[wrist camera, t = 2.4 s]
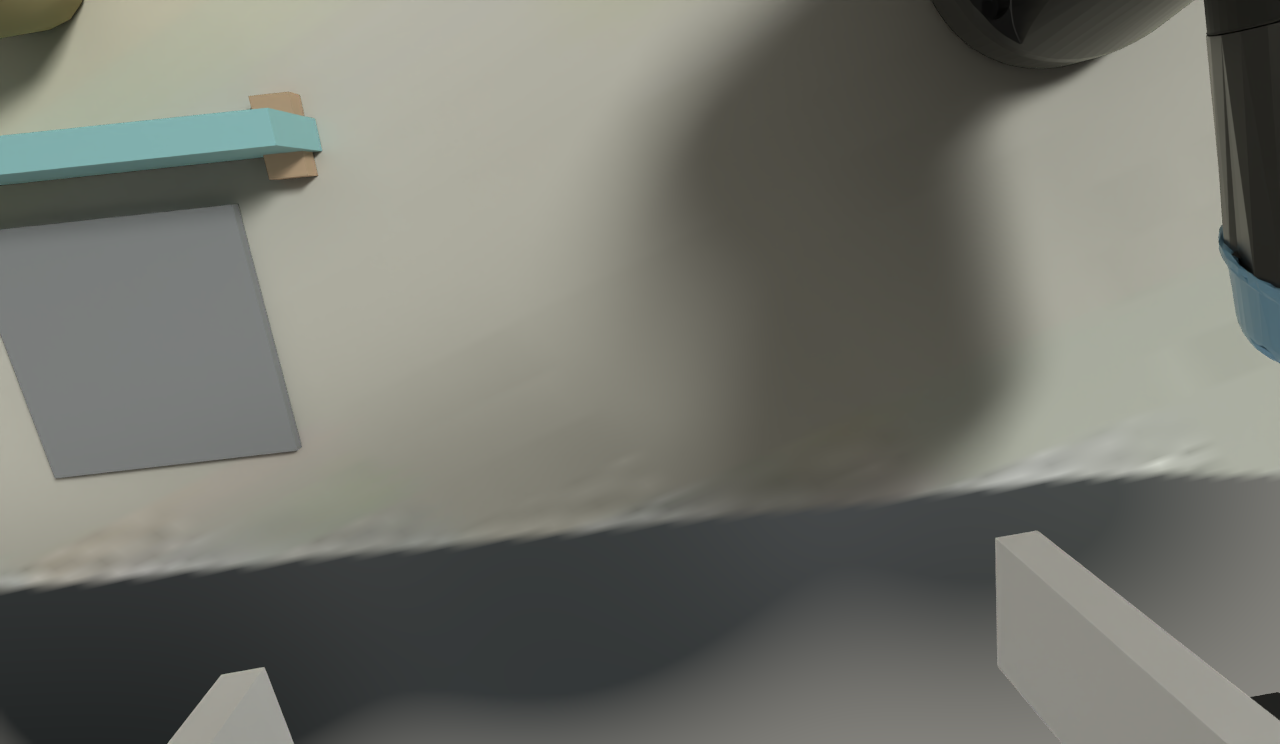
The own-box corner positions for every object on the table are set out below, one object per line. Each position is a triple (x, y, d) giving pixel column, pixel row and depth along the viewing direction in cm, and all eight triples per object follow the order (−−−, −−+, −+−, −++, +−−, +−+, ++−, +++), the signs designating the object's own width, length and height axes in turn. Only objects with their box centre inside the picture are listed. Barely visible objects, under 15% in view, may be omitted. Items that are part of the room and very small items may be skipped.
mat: (-28, 232, 35) (-38, 233, 34) (238, 204, 35) (232, 204, 35) (63, 473, 39) (55, 478, 38) (301, 446, 39) (297, 450, 39)
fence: (-164, 143, 34) (-293, 136, 29) (309, 94, 34) (260, 78, 29) (-131, 223, 35) (-250, 229, 30) (327, 174, 35) (283, 172, 30)
